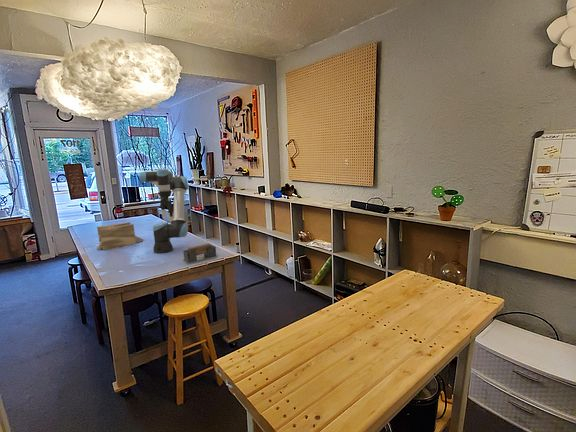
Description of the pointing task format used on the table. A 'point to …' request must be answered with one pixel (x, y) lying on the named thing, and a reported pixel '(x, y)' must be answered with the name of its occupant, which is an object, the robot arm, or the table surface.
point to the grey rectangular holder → (193, 258)
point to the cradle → (116, 235)
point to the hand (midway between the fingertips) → (167, 219)
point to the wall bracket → (135, 239)
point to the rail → (199, 249)
